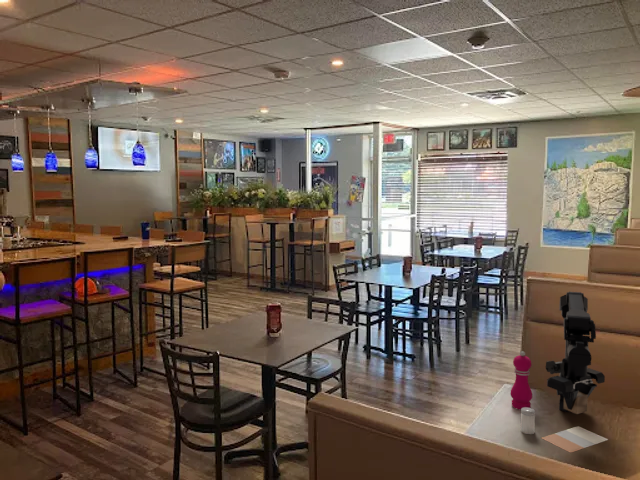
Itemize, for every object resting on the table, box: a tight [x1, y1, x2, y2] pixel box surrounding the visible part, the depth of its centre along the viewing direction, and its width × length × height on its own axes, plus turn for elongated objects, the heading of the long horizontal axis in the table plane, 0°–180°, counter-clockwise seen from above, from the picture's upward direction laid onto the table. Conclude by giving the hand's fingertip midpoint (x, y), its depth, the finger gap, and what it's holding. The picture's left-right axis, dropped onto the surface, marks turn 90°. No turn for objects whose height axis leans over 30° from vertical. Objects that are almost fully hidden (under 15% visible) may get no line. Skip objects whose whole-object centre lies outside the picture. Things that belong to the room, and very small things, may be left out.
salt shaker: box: [520, 407, 536, 435], centre depth 155 cm, size 4×4×8 cm
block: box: [563, 392, 589, 415], centre depth 149 cm, size 4×4×5 cm
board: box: [541, 425, 609, 454], centre depth 150 cm, size 17×10×1 cm, turn 117°
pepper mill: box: [510, 350, 533, 411], centre depth 176 cm, size 7×7×20 cm
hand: (575, 407), depth 149 cm, fingers closed on block, 4 cm apart
